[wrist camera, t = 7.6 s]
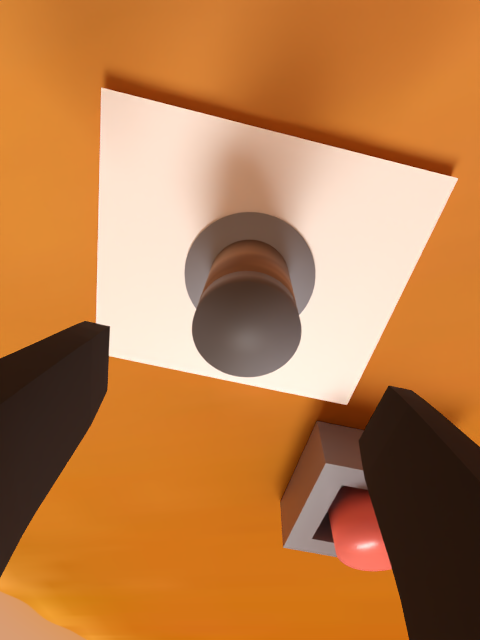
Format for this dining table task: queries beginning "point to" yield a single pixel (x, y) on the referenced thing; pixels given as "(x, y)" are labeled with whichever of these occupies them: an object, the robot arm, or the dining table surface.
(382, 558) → the button
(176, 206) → the paper sheet
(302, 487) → the button housing
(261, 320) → the grey rounded cylinder
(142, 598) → the dining table surface
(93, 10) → the dining table surface
